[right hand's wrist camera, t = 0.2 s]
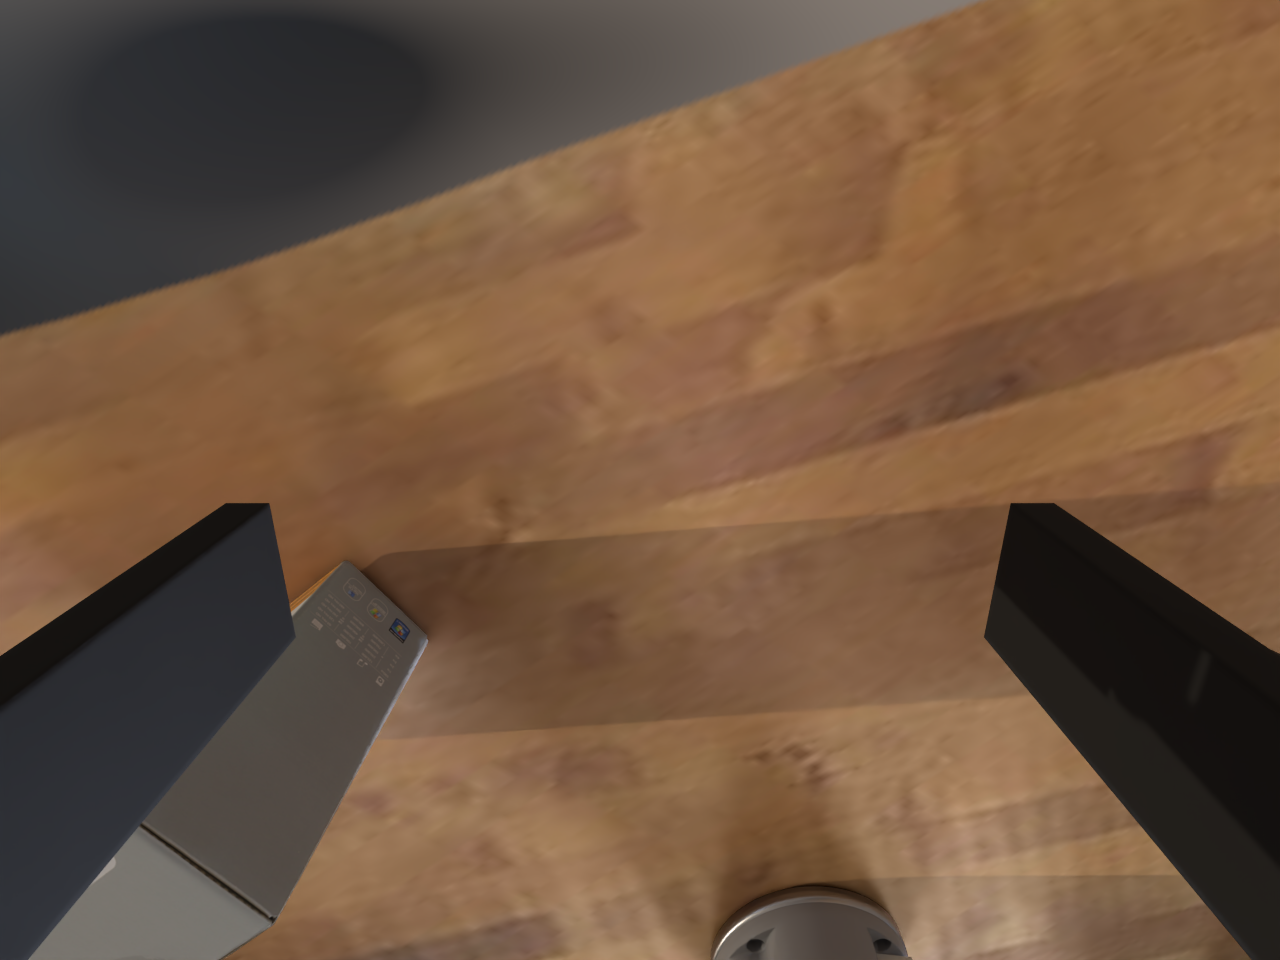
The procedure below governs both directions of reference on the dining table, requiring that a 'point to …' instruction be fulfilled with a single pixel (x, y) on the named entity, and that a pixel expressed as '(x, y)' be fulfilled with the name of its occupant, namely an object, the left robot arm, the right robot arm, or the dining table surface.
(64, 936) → the hard drive box
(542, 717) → the dining table surface
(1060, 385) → the dining table surface
